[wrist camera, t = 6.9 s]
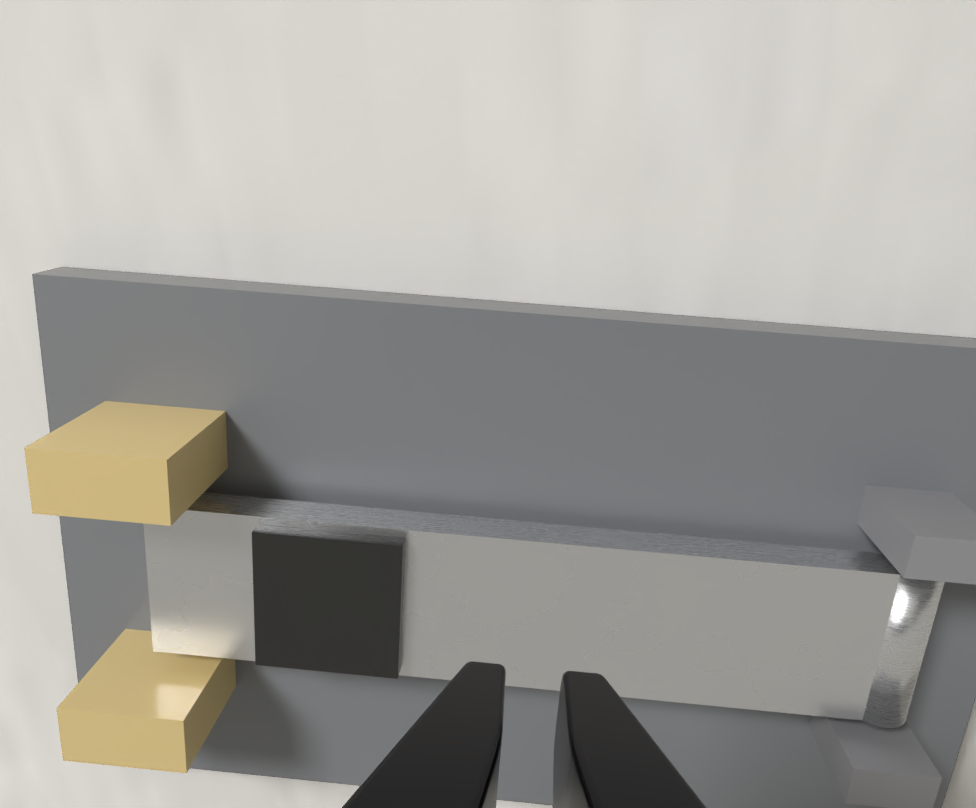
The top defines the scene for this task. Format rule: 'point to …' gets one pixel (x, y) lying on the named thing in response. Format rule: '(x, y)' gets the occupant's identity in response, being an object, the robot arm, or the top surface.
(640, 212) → the top surface
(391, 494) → the hinge plate
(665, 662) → the strap
